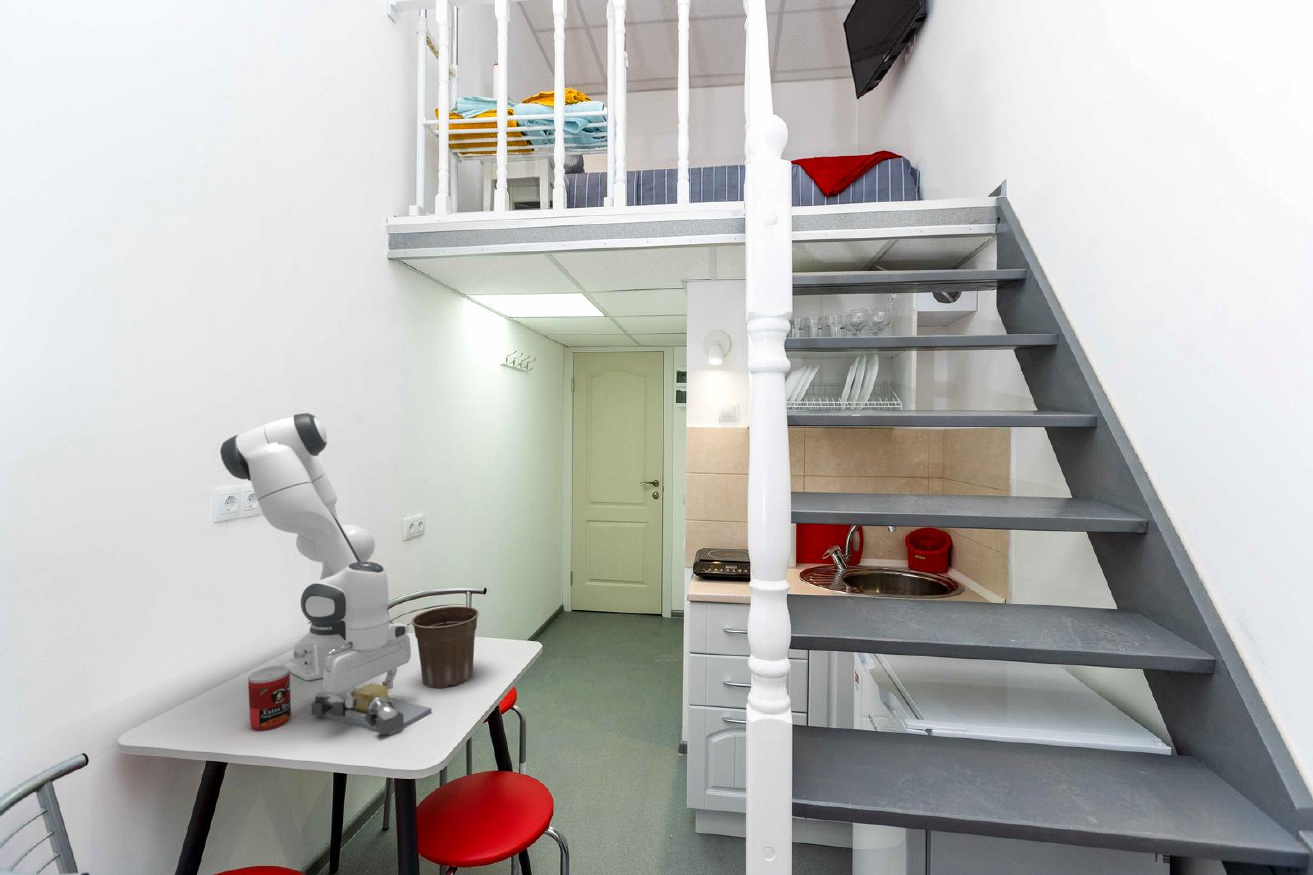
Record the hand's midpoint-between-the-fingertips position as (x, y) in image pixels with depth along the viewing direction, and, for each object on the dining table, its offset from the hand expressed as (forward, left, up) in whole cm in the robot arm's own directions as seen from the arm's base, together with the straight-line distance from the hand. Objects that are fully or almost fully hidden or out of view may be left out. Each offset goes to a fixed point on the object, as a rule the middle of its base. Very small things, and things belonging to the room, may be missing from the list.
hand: (370, 697), depth 136 cm
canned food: (-18, -11, -4) cm, 22 cm away
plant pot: (+1, +22, -4) cm, 22 cm away
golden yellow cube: (0, 0, -3) cm, 3 cm away
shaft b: (+8, -3, -4) cm, 9 cm away
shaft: (-8, -3, -4) cm, 9 cm away
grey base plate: (0, 0, -4) cm, 4 cm away
